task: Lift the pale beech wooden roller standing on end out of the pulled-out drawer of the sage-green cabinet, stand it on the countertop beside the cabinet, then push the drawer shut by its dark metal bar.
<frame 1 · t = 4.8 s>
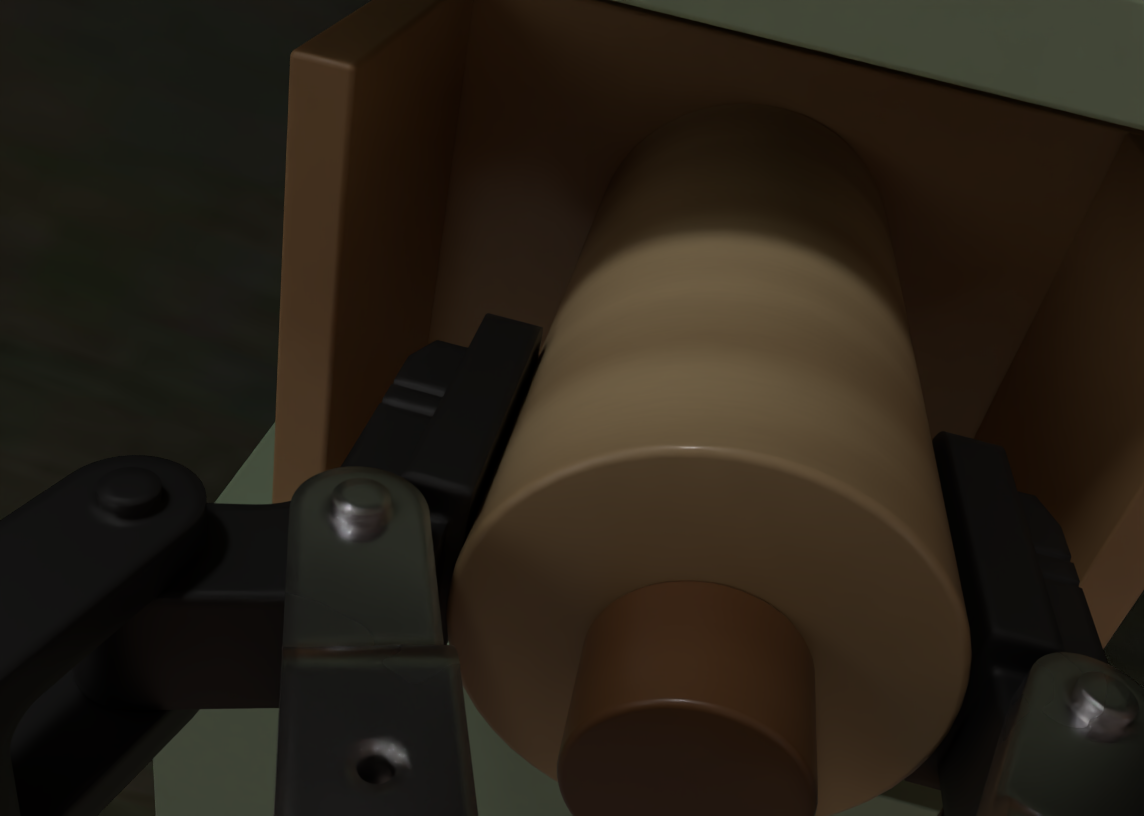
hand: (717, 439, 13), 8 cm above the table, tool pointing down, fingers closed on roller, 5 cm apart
drawer: (757, 229, 16), point 4 cm above the table, slide at 9.5 cm, touching roller
cabinet: (610, 638, 27), on the table
roller: (738, 245, 18), point 2 cm above the table, touching drawer, gripper
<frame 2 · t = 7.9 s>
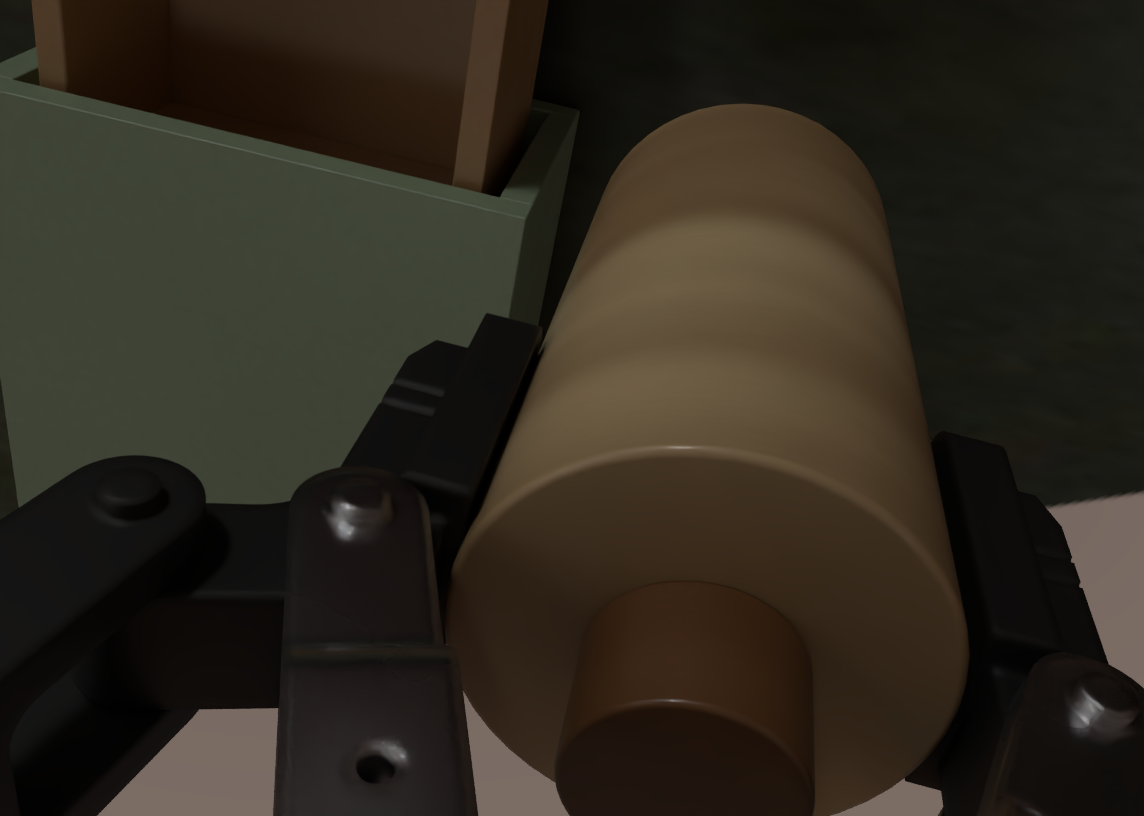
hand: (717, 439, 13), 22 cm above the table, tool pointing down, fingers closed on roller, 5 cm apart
cabinet: (342, 260, 38), on the table
roller: (737, 245, 18), point 16 cm above the table, touching gripper
when the fingers open (6 cm above the table, at t = 11.2 s): roller stays where it is, on the table.
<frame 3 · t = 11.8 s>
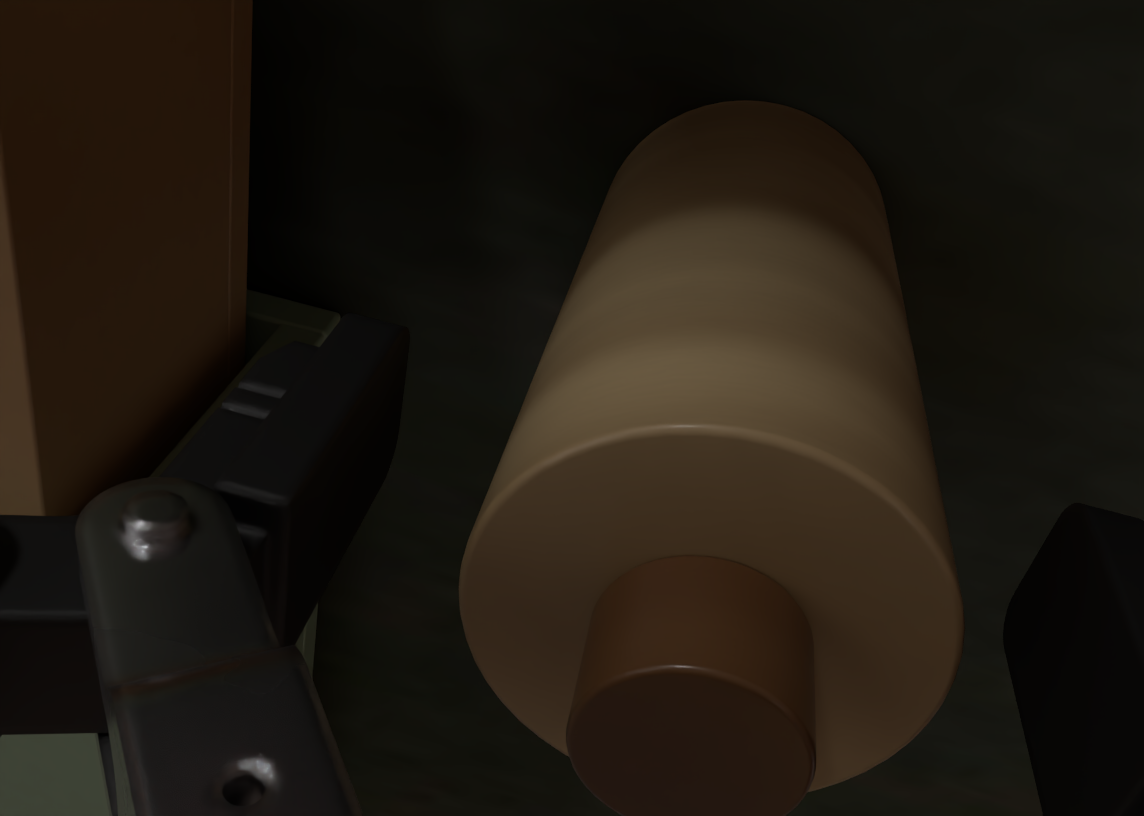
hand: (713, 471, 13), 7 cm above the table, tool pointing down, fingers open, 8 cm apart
cabinet: (27, 500, 25), on the table
roller: (740, 239, 19), on the table
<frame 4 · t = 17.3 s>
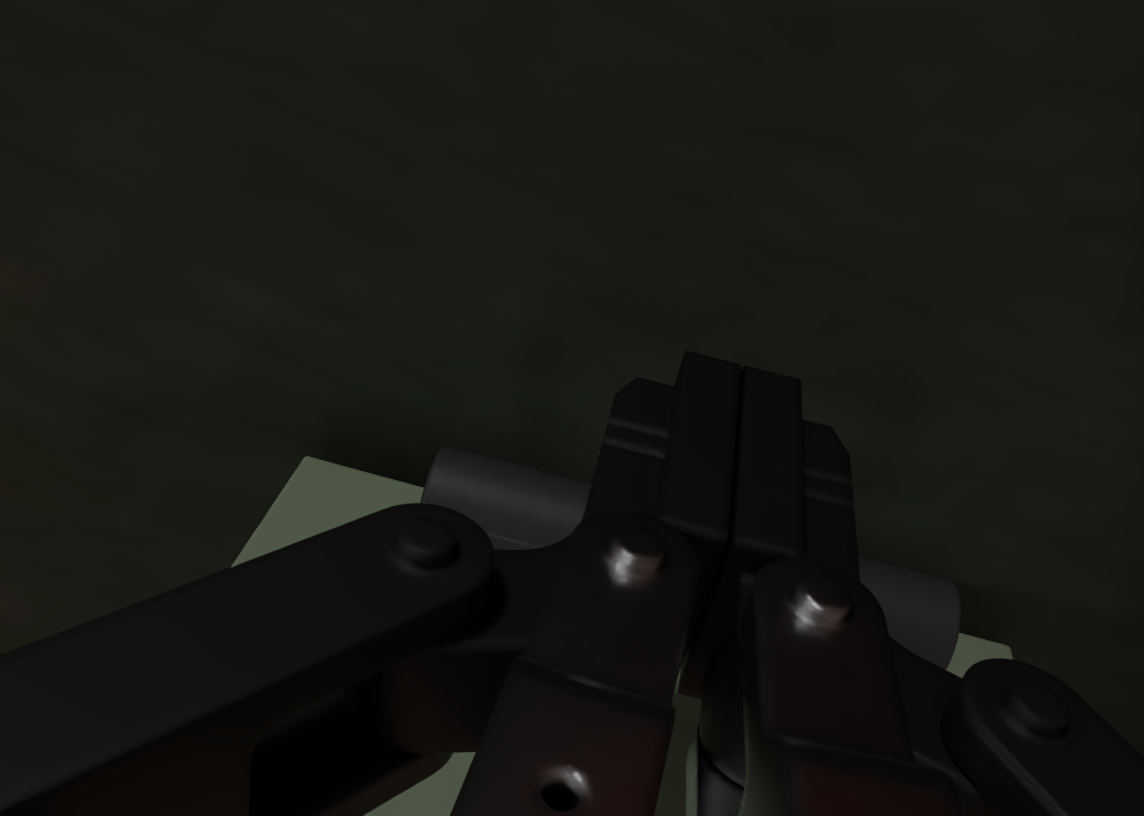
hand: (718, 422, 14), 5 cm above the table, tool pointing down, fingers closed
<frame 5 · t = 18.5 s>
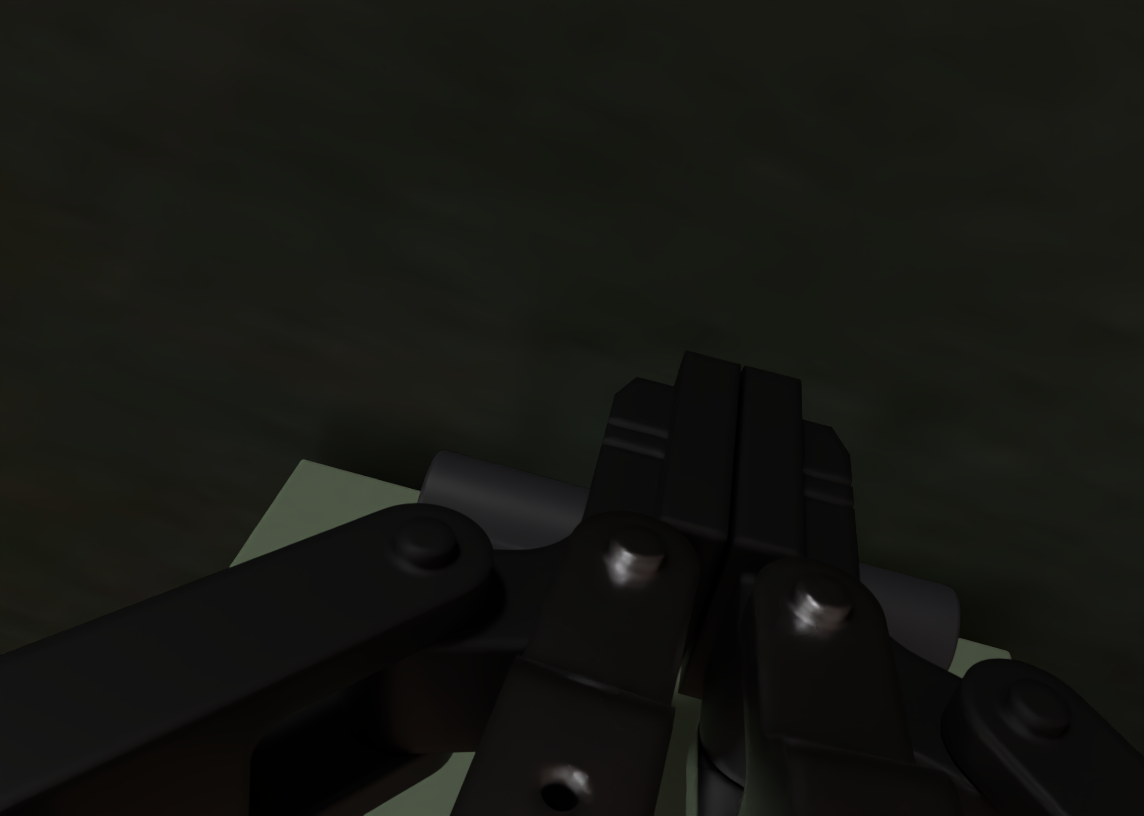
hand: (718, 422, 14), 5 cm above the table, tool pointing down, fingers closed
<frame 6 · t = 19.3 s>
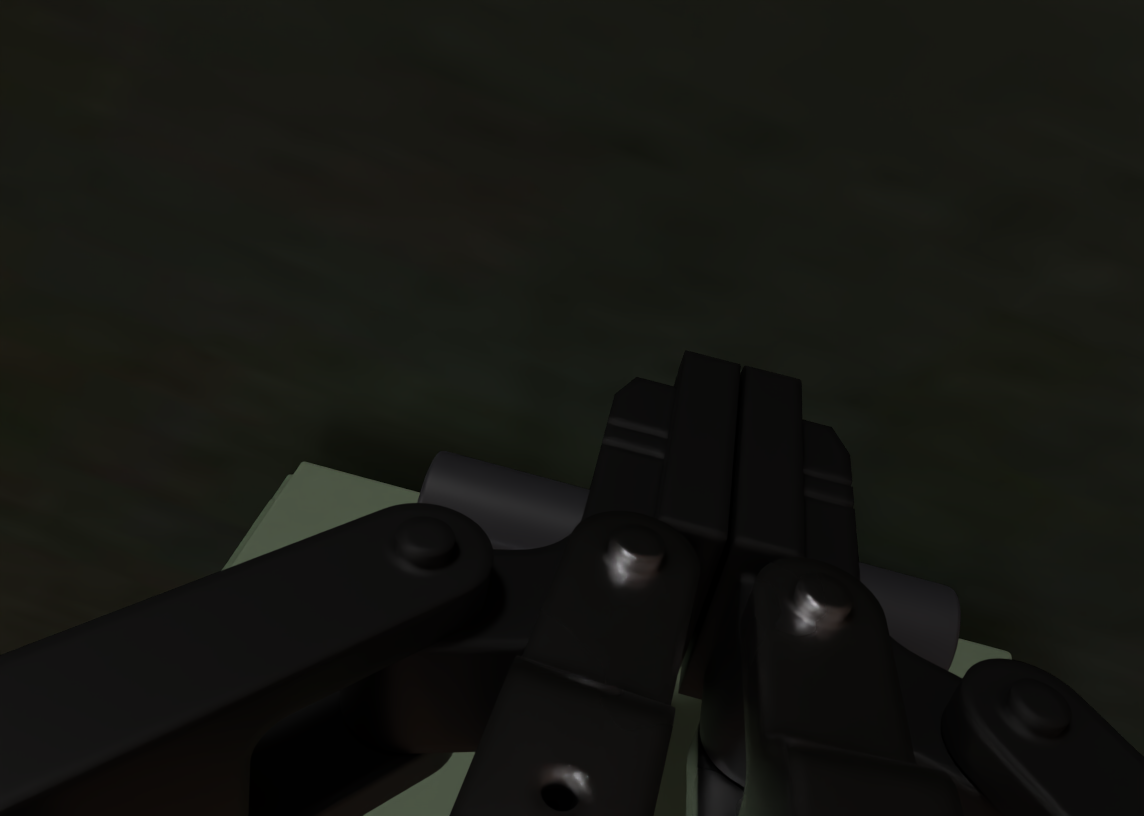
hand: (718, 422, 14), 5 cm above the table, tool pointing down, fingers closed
cabinet: (571, 793, 25), on the table
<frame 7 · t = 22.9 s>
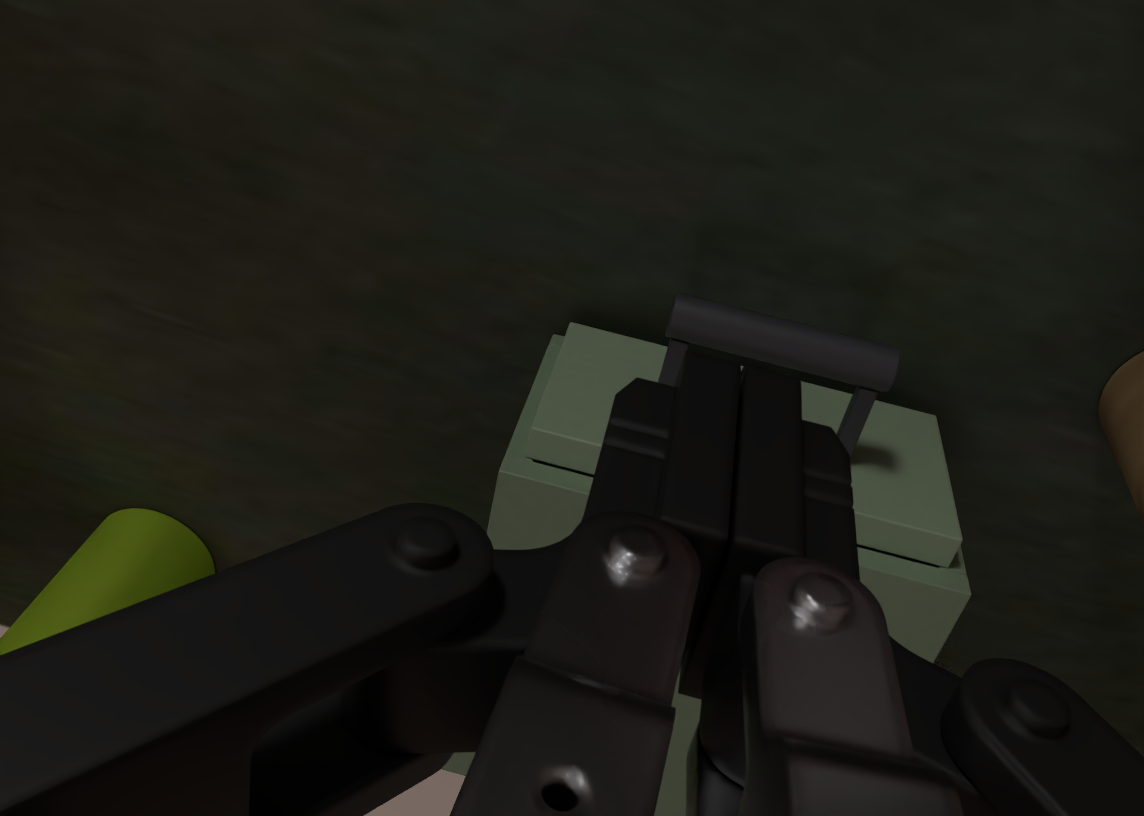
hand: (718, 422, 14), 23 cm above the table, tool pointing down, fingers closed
drawer: (712, 525, 38), point 5 cm above the table, slide at 0.0 cm
cabinet: (694, 529, 44), on the table
soap dispenser: (165, 550, 50), on the table
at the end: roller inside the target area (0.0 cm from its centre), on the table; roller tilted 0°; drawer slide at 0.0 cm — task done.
